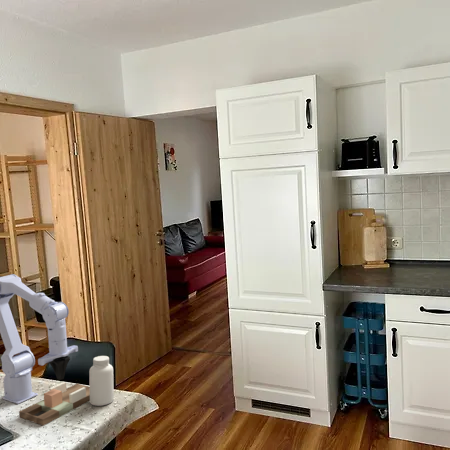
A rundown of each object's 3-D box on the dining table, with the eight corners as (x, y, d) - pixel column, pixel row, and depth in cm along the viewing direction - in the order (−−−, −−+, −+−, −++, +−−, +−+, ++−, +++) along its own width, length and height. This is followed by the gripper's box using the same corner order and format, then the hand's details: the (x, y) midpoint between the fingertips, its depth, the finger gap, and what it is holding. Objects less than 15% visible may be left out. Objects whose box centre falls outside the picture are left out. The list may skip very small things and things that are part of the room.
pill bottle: (113, 405, 149) (112, 361, 148) (88, 407, 147) (87, 362, 147) (114, 395, 157) (113, 353, 156) (91, 397, 155) (90, 355, 155)
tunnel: (49, 397, 153) (49, 388, 153) (64, 390, 158) (63, 381, 158) (72, 403, 147) (71, 394, 147) (86, 396, 152) (85, 387, 152)
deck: (19, 417, 144) (19, 411, 144) (77, 388, 164) (77, 383, 164) (43, 425, 137) (42, 419, 137) (100, 395, 158) (100, 389, 157)
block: (44, 405, 147) (43, 393, 147) (54, 400, 150) (53, 388, 150) (52, 407, 145) (51, 395, 145) (62, 402, 148) (61, 391, 148)
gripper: (46, 347, 141) (49, 389, 142) (82, 334, 154) (85, 372, 154) (32, 344, 145) (36, 385, 146) (69, 332, 157) (71, 369, 158)
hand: (60, 378), depth 150 cm, fingers closed
